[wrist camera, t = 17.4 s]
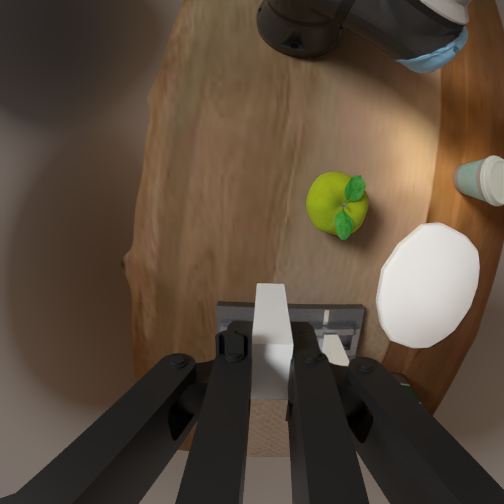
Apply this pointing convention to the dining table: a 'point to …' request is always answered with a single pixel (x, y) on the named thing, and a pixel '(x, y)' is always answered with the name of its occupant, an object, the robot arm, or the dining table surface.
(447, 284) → the decorative plate
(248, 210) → the dining table surface
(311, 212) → the fruit
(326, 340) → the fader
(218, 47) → the dining table surface
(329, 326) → the fader console
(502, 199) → the coffee cup
